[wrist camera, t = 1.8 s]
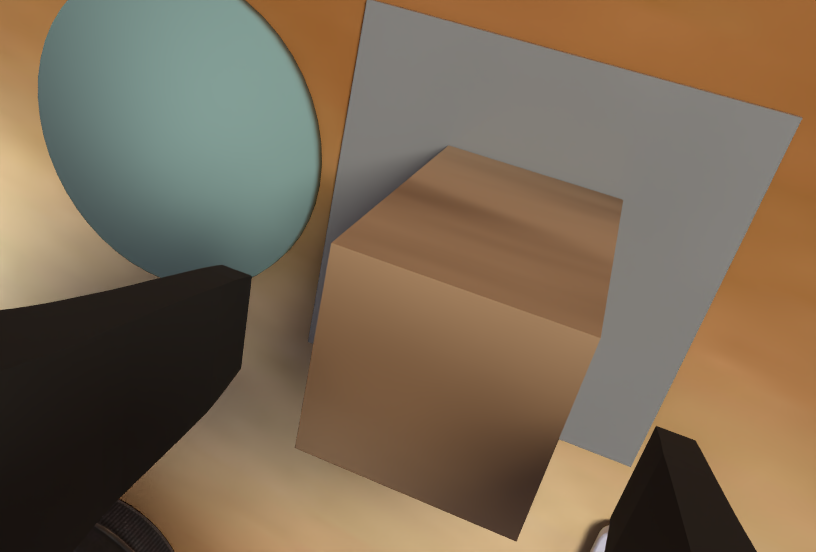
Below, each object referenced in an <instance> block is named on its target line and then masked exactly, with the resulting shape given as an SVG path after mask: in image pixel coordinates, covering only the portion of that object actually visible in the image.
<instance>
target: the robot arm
mask: <svg viewBox="0 0 816 552" xmlns="http://www.w3.org/2000/svg"><path fill="white" fill-rule="evenodd" d="M251 279H252V276H251V275H249V274H246V273H243V272H240V271H238V270H235V269H232V268H230V267H227V266H224V265H216V266H210V267H205V268H200V269H196V270H191V271H187V272H183V273H179V274H175V275H170V276H166V277H162V278H158V279H154V280H150V281H146V282H142V283H138V284H134V285H130V286H126V287H122V288H118V289H113V290H109V291H104V292H99V293H95V294H90V295H85V296H80V297H75V298H70V299H66V300H61V301H56V302H51V303H45V304H40V305H33V306H27V307H21V308H14V309H6V310H0V552H73V551H74V550H75V548H76V547H77V546H78V545H79V544H80V542H81V541H82V540H83V539H84V538H85V536H86V535H87V534H88V533H89V532H90V530H91V529H92V528H93V527H94V526H95V524H96V523H97V522H98V521H99V520H100V518H101V517H102V516H103V515H104V514H105V513H106V512H107V511H108V510H109V509H110V508H111V507H112V506H113V504H114V503H115V502H116V501H117V500H118V499H119V498H120V497H121V496H122V495H123V494H124V493H125V492H126V491H127V490H128V489H129V488H130V487H131V486H132V485H133V484H134V483H135V482H136V481H137V480H138V479H139V478H140V477H141V476H143V475H144V474H145V473H146V472H147V471H148V470H149V469H150V468H151V467H152V466H153V465H154V464H155V463H156V462H157V461H158V460H159V459H160V458H161V457H162V456H163V455H164V454H165V453H166V452H167V451H168V450H169V449H170V448H171V447H172V446H173V445H174V444H175V443H176V442H177V441H179V440H180V439H181V438H182V437H183V436H184V435H185V434H186V433H187V432H188V431H189V430H190V429H191V428H192V427H193V426H194V425H195V424H196V423H197V422H198V421H199V420H200V419H201V418H202V417H203V416H204V415H205V414H206V413H207V411H208V410H209V409H210V408H211V407H212V406H213V404H214V403H215V402H216V401H217V399H218V398H219V397H220V396H221V394H222V393H223V392H224V390H225V389H226V388H227V386H228V385H229V384H230V382H231V381H232V380H233V378H234V377H235V376H236V374H237V373H238V372H239V370H240V369H241V364H242V355H243V347H244V338H245V330H246V321H247V313H248V304H249V296H250V287H251ZM590 552H757V551H756V550H755V548H754V546H753V545H752V543H751V541H750V539H749V538H748V536H747V534H746V533H745V531H744V529H743V527H742V526H741V524H740V522H739V520H738V518H737V517H736V515H735V513H734V511H733V509H732V508H731V506H730V504H729V502H728V500H727V498H726V497H725V495H724V493H723V491H722V489H721V487H720V485H719V484H718V482H717V480H716V478H715V476H714V474H713V472H712V470H711V468H710V467H709V465H708V463H707V461H706V459H705V457H704V455H703V453H702V452H701V450H700V448H699V446H698V444H697V443H696V441H695V440H693V439H690V438H687V437H685V436H682V435H679V434H676V433H674V432H671V431H668V430H666V429H663V428H660V427H658V426H656V427H655V429H654V431H653V433H652V435H651V437H650V439H649V441H648V443H647V445H646V447H645V449H644V451H643V453H642V455H641V457H640V459H639V461H638V463H637V465H636V467H635V469H634V471H633V473H632V475H631V478H630V480H629V482H628V484H627V486H626V488H625V490H624V492H623V494H622V496H621V498H620V500H619V502H618V504H617V506H616V508H615V510H614V512H613V514H612V516H611V519H610V524H609V525H608V526H605V527H603V528H602V530H601V531H600V532H599V534H598V536H597V538H596V540H595V542H594V545H593V547H592V549H591V551H590Z"/></svg>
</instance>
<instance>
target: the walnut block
mask: <svg viewBox="0 0 816 552" xmlns="http://www.w3.org/2000/svg"><path fill="white" fill-rule="evenodd" d="M622 204H623V200H622V199H619V198H616V197H613V196H609V195H606V194H603V193H600V192H597V191H593V190H590V189H587V188H584V187H581V186H577V185H574V184H571V183H568V182H565V181H561V180H558V179H555V178H552V177H548V176H545V175H542V174H539V173H536V172H532V171H529V170H526V169H523V168H520V167H516V166H513V165H510V164H507V163H504V162H500V161H497V160H494V159H491V158H488V157H484V156H481V155H478V154H475V153H471V152H468V151H465V150H462V149H459V148H455V147H452V146H447V147H446V148H445V149H444V150H443V151H441V152H440V153H439V154H438V155H437V156H435V157H434V158H433V159H432V160H431V161H429V162H428V163H427V164H426V165H425V166H423V167H422V168H421V169H420V170H418V171H417V172H416V173H415V174H414V175H412V176H411V177H410V178H409V179H408V180H406V181H405V182H404V183H403V184H402V185H400V186H399V187H398V188H397V189H396V190H394V191H393V192H392V193H391V194H390V195H388V196H387V197H386V198H385V199H384V200H382V201H381V202H380V203H379V204H378V205H376V206H375V207H374V208H373V209H371V210H370V211H369V212H368V213H367V214H365V215H364V216H363V217H362V218H361V219H359V220H358V221H357V222H356V223H355V224H353V225H352V226H351V227H350V228H349V229H347V230H346V231H345V232H344V233H343V234H341V235H340V236H339V237H338V238H337V239H335V240H334V241H333V242H332V243H331V247H330V253H329V259H328V264H327V270H326V275H325V281H324V287H323V292H322V298H321V304H320V309H319V315H318V321H317V326H316V332H315V337H314V343H313V349H312V354H311V360H310V366H309V371H308V377H307V383H306V388H305V394H304V399H303V405H302V411H301V416H300V422H299V428H298V433H297V439H296V445H295V448H297V449H299V450H301V451H304V452H306V453H308V454H311V455H313V456H316V457H318V458H320V459H323V460H325V461H327V462H330V463H332V464H334V465H337V466H339V467H342V468H344V469H346V470H349V471H351V472H353V473H356V474H358V475H360V476H363V477H365V478H367V479H370V480H372V481H375V482H377V483H379V484H382V485H384V486H386V487H389V488H391V489H393V490H396V491H398V492H401V493H403V494H405V495H408V496H410V497H412V498H415V499H417V500H419V501H422V502H424V503H427V504H429V505H431V506H434V507H436V508H438V509H441V510H443V511H445V512H448V513H450V514H453V515H455V516H457V517H460V518H462V519H464V520H467V521H469V522H471V523H474V524H476V525H479V526H481V527H483V528H486V529H488V530H490V531H493V532H495V533H497V534H500V535H502V536H505V537H507V538H509V539H512V540H514V541H517V539H518V536H519V534H520V532H521V529H522V527H523V524H524V522H525V520H526V517H527V515H528V512H529V510H530V507H531V505H532V503H533V500H534V498H535V495H536V493H537V491H538V488H539V486H540V483H541V481H542V478H543V476H544V474H545V471H546V469H547V466H548V464H549V462H550V459H551V457H552V454H553V452H554V450H555V447H556V445H557V442H558V440H559V437H560V435H561V433H562V430H563V428H564V425H565V423H566V421H567V418H568V416H569V413H570V411H571V408H572V406H573V404H574V401H575V399H576V396H577V394H578V392H579V389H580V387H581V384H582V382H583V380H584V377H585V375H586V372H587V370H588V367H589V365H590V363H591V360H592V358H593V355H594V353H595V351H596V348H597V346H598V343H599V341H600V338H601V333H602V327H603V321H604V315H605V308H606V302H607V296H608V290H609V284H610V278H611V272H612V266H613V259H614V253H615V247H616V241H617V235H618V229H619V223H620V217H621V211H622Z"/></svg>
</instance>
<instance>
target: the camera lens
mask: <svg viewBox="0 0 816 552" xmlns="http://www.w3.org/2000/svg"><path fill="white" fill-rule="evenodd" d="M73 552H174V551H173V549H172V548H171V546H170V545H169V543H168V542H167V540H166V539H165V537H164V536H163V535H162V533H161V532H160V531H159V530H158V529H157V528H156V527H155V526H154V525H153V524H152V523H151V522H150V521H149V520H148V519H147V518H146V517H145V516H143V515H142V514H140V513H139V512H138V511H136V510H135V509H133V508H132V507H130V506H129V505H127V504H126V503H124V502H122V501H120V500H117V501H116V502H115V503H114V504H113V506H112V507H111V508H110V509H109V510H108V511H107V512H106V513H105V514H104V515H103V516H102V517H101V518H100V520H99V521H98V522H97V523H96V524H95V526H94V527H93V528H92V529H91V530H90V532H89V533H88V534H87V535H86V536H85V538H84V539H83V540H82V541H81V542H80V544H79V545H78V546H77V547H76V548H75V550H74V551H73Z"/></svg>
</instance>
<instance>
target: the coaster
mask: <svg viewBox="0 0 816 552" xmlns="http://www.w3.org/2000/svg"><path fill="white" fill-rule="evenodd" d="M38 102H39V113H40V120H41V125H42V130H43V135H44V139H45V142H46V145H47V149H48V152H49V155H50V158H51V160H52V163H53V165H54V168H55V170H56V173H57V175H58V177H59V179H60V181H61V183H62V185H63V186H64V188H65V190H66V192H67V194H68V195H69V197H70V199H71V200H72V202H73V203H74V205H75V206H76V208H77V209H78V211H79V212H80V213H81V215H82V216H83V217H84V219H85V220H86V221H87V223H88V224H89V225H90V226H91V227H92V228H93V229H94V230H95V231H96V233H97V234H98V235H99V236H100V237H101V238H102V239H103V240H104V241H105V242H106V243H108V244H109V245H110V246H111V247H112V248H113V249H114V250H115V251H117V252H118V253H119V254H121V255H122V256H123V257H125V258H126V259H127V260H129V261H130V262H132V263H133V264H135V265H137V266H138V267H140V268H142V269H143V270H145V271H147V272H149V273H151V274H154V275H156V276H158V277H160V278H162V277H166V276H170V275H175V274H179V273H183V272H187V271H191V270H196V269H200V268H205V267H210V266H216V265H224V266H227V267H230V268H232V269H235V270H238V271H240V272H243V273H246V274H249V275H251V276H252V277H254V276H256V275H258V274H259V273H261V272H262V271H264V270H265V269H267V268H268V267H270V266H271V265H272V264H274V263H275V262H276V261H278V260H279V259H280V258H281V257H282V256H283V255H284V254H285V253H286V252H288V251H289V250H290V249H291V247H292V246H293V245H294V243H295V242H296V241H297V240H298V238H299V237H300V236H301V234H302V232H303V230H304V229H305V227H306V225H307V223H308V221H309V219H310V217H311V214H312V211H313V209H314V206H315V204H316V199H317V195H318V191H319V186H320V178H321V168H322V153H321V138H320V131H319V124H318V119H317V115H316V111H315V108H314V104H313V100H312V97H311V94H310V92H309V89H308V87H307V84H306V82H305V79H304V77H303V75H302V73H301V71H300V69H299V67H298V65H297V63H296V61H295V59H294V57H293V55H292V54H291V52H290V51H289V49H288V48H287V46H286V45H285V43H284V42H283V41H282V39H281V38H280V36H279V35H278V34H277V32H276V31H275V30H274V29H273V28H272V27H271V25H270V24H269V23H268V22H267V21H266V19H265V18H264V17H263V16H262V15H261V14H260V13H259V12H257V11H256V10H255V9H254V8H253V7H252V6H251V5H250V4H249V3H248V2H247V1H245V0H68V1H67V2H66V3H65V4H64V6H63V7H62V8H61V10H60V11H59V13H58V15H57V16H56V18H55V20H54V21H53V23H52V25H51V28H50V30H49V32H48V35H47V37H46V40H45V43H44V47H43V51H42V55H41V59H40V67H39V75H38Z"/></svg>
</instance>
